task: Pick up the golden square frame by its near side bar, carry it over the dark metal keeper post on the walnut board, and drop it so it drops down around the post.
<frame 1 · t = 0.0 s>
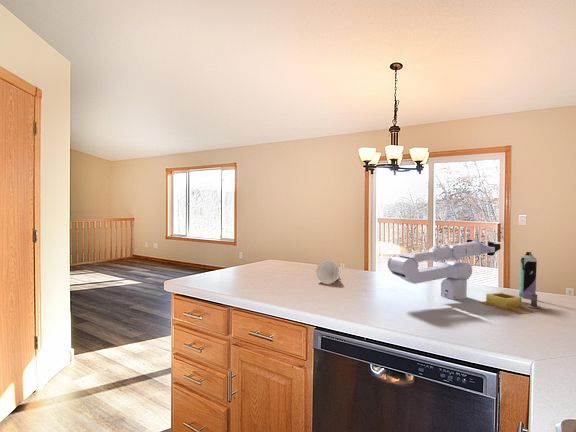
hand: (491, 245, 147), 22 cm above the worktop, tool horizontal, fingers open, 7 cm apart
grey rounded lump: (334, 281, 174), on the worktop
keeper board: (513, 308, 129), on the worktop
spray can: (527, 300, 142), on the worktop
golden square frame: (503, 305, 130), point 1 cm above the worktop, touching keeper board
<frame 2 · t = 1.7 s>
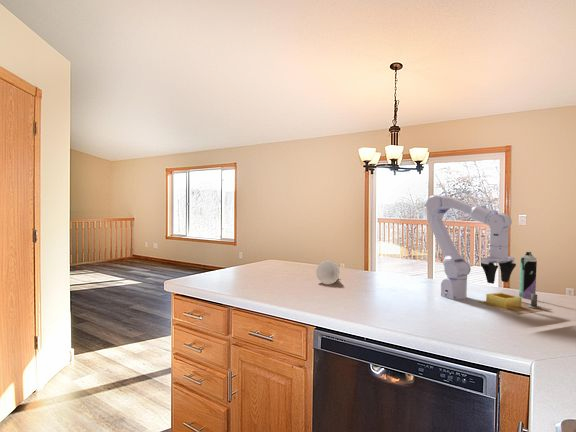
hand: (497, 282, 128), 10 cm above the worktop, tool pointing down, fingers open, 7 cm apart
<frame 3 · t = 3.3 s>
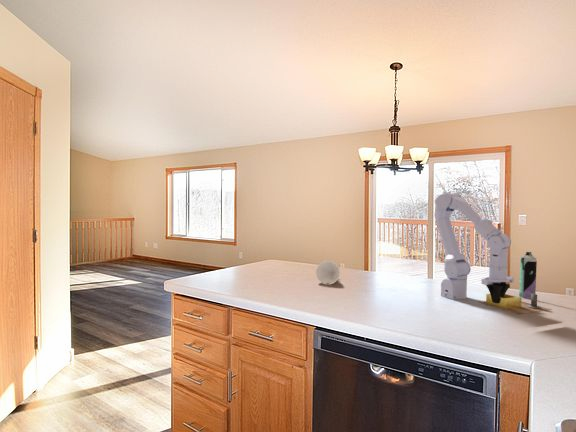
hand: (497, 302, 128), 2 cm above the worktop, tool pointing down, fingers closed on golden square frame
golden square frame: (503, 305, 130), point 1 cm above the worktop, touching gripper, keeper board
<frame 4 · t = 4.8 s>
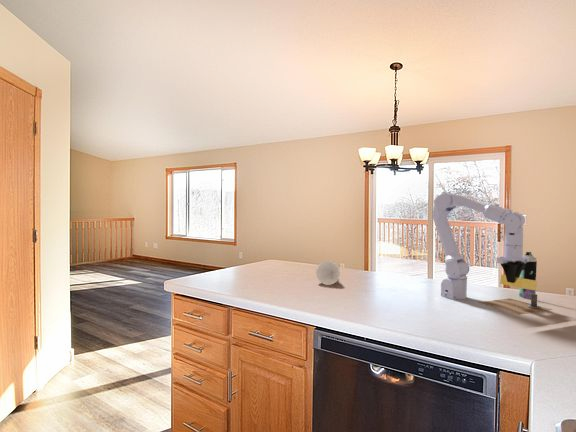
hand: (512, 282, 127), 10 cm above the worktop, tool pointing down, fingers closed on golden square frame
golden square frame: (517, 286, 128), point 8 cm above the worktop, tilted 10°, touching gripper
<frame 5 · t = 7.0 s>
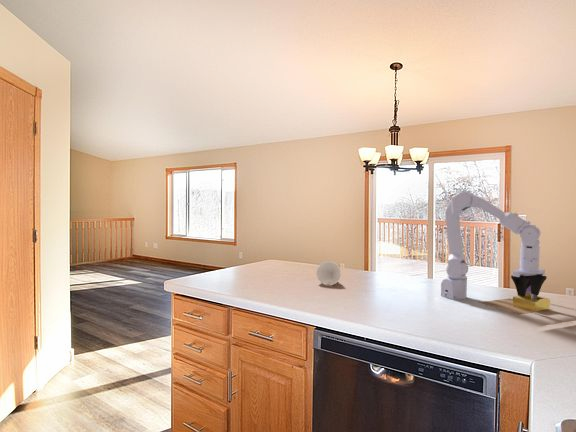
hand: (528, 295, 126), 6 cm above the worktop, tool pointing down, fingers open, 7 cm apart
golden square frame: (531, 306, 127), point 1 cm above the worktop, touching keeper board
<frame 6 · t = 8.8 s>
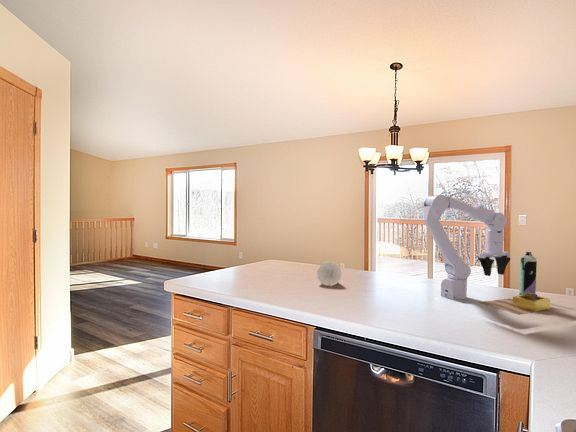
hand: (494, 274, 141), 10 cm above the worktop, tool pointing down, fingers open, 7 cm apart
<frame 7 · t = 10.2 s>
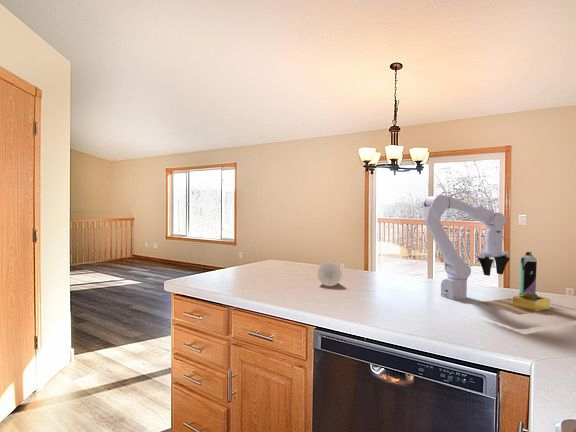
hand: (493, 274, 141), 10 cm above the worktop, tool pointing down, fingers open, 7 cm apart
at the end: golden square frame 1.3 cm from the target spot on the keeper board, point 1.5 cm above the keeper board's base; the gripper is holding nothing; golden square frame tilted 4° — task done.
